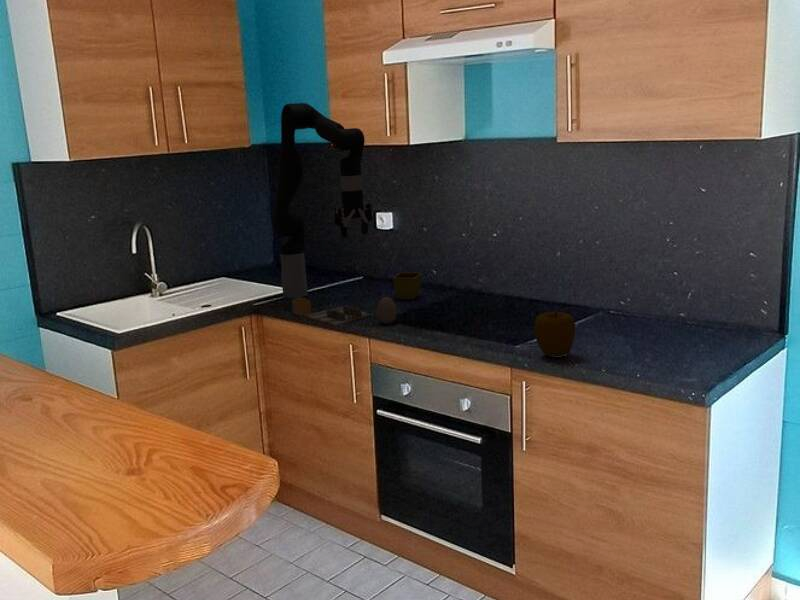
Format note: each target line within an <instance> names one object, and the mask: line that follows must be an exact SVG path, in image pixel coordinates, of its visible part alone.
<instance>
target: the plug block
mask: <svg viewBox="0 0 800 600" xmlns="http://www.w3.org/2000/svg"><path fill="white" fill-rule="evenodd" d="M311 303H312V302H311V300H310V299H308V298H305V297H300V298H293V299H292V300H291V306H292V307H291V308H292V314H293V315H297V316H301V317H304V316H305V315H309V314H313V313H312V305H311Z"/></svg>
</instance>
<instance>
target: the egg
mask: <svg viewBox="0 0 800 600" xmlns="http://www.w3.org/2000/svg"><path fill="white" fill-rule="evenodd" d="M397 311H398V310H397V306H396V304H395V302H394V300H393V299H392V298H390V297H388V296H384V297H382V298H381V299H380V300H379V302H378V303H377V307H376V314H377V315H376V316H377V318H378V319H379V321H380V322H381V323H383V324H384V325H385V324H386V325H389V324H392V323H393V322H394V320H395V319H396V318H397V314H398V312H397Z"/></svg>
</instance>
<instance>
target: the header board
mask: <svg viewBox="0 0 800 600" xmlns="http://www.w3.org/2000/svg"><path fill="white" fill-rule="evenodd" d="M370 317H373V313H368V312H365V311H362V308H358V306H357V305H356V306H350V305H345V304H344V305H342V306H338V307H335V308H328V309H326V310H322V311H318V312H314V313H312V314H309V315H305V318H308V319H310V320H315V321H317V322H321V323H325V324H328V325H331V326H338V325H342V324H346V323H351V322H354V321H355V322H356V321H359V320H361V319H365V318H370Z"/></svg>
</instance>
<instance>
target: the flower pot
mask: <svg viewBox="0 0 800 600" xmlns="http://www.w3.org/2000/svg"><path fill="white" fill-rule="evenodd" d="M392 281H393V282H392V283H393V286H394V291H395V293H396V295H397V297H398V299H400V300H401V301H402V300H406V301H407V300H410V301H412V300H414V299H416V298H417V297H418V295H419V293H420V290H421V286H422V285H421V284H422V272H399V273H397V274H396V275H395V276H393V277H392Z"/></svg>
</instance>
